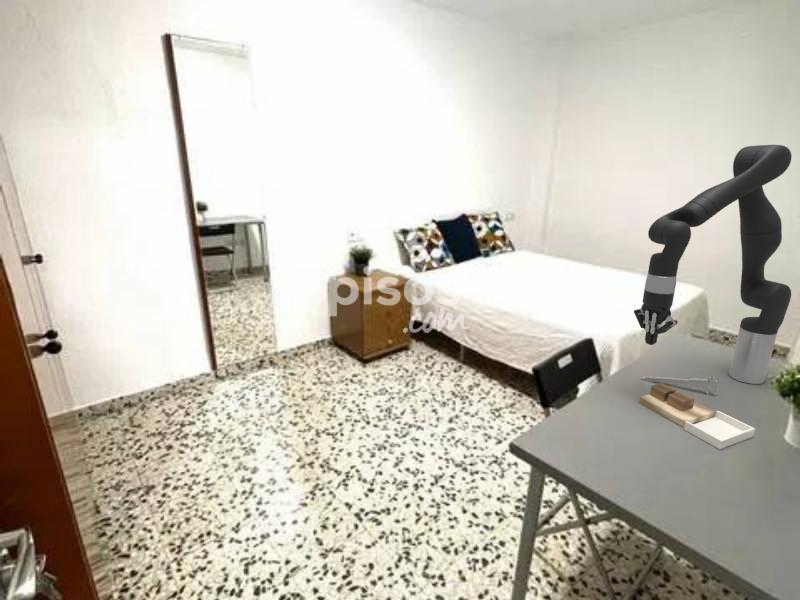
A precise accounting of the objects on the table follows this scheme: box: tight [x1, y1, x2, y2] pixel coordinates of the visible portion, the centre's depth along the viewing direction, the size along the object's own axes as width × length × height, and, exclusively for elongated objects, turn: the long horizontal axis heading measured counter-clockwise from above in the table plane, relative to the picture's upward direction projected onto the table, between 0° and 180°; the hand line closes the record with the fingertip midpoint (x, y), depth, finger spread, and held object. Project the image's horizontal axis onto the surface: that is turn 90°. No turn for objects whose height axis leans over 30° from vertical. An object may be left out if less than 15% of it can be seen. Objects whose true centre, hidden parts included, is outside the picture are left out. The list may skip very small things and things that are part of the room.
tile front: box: [667, 391, 695, 411], centre depth 118 cm, size 4×4×3 cm
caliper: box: [640, 375, 719, 397], centre depth 132 cm, size 20×1×6 cm, turn 55°
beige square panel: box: [638, 393, 716, 429], centre depth 120 cm, size 12×14×2 cm
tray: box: [683, 410, 756, 450], centre depth 109 cm, size 13×9×2 cm
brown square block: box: [649, 382, 677, 402], centre depth 123 cm, size 4×4×3 cm
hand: (650, 343), depth 125 cm, fingers closed
